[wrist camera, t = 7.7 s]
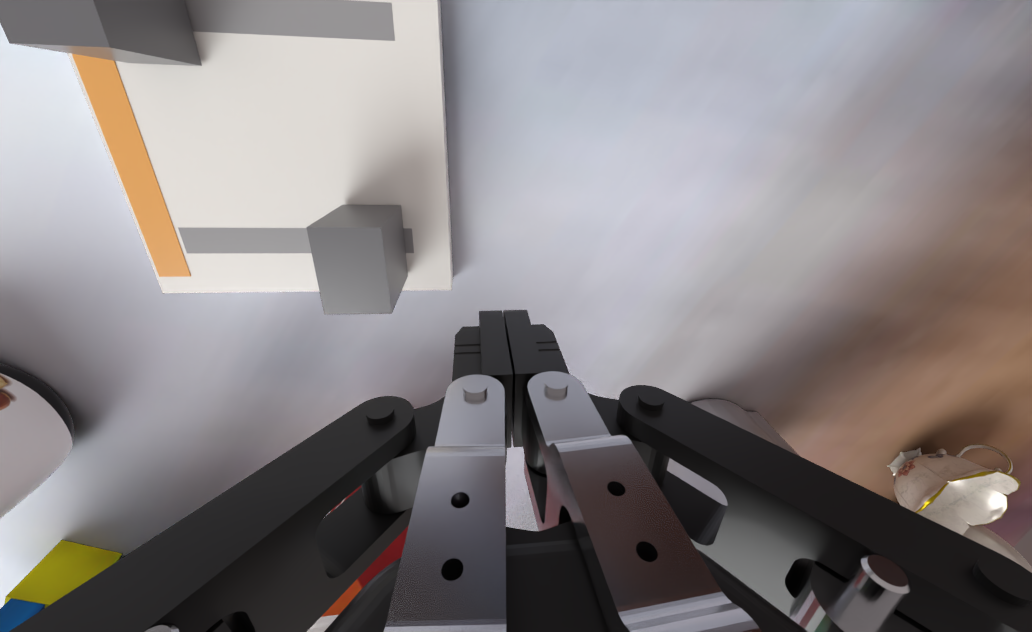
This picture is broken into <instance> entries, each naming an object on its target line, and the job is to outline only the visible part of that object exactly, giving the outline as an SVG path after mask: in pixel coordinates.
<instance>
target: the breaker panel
mask: <svg viewBox="0 0 1032 632" xmlns="http://www.w3.org/2000/svg"><path fill="white" fill-rule="evenodd" d="M184 1H185V5H186V9H187V12H188V16H189V19H190V23H191V27H192V30H193V34H194V38H195V41H196V45H197V49H198V52H199V56H200V60H201V63H202V66H188V65H163V64H138V63H125V62H119V61H113V60H107V59H101V58H95V57H89V56H83V55H77V54H71V53H68V56H69V58H70V61H71V64H72V66H73V69H74V71H75V74H76V76H77V79H78V81H79V84H80V86H81V89H82V91H83V94H84V96H85V99H86V101H87V104H88V106H89V109H90V111H91V114H92V116H93V119H94V121H95V124H96V126H97V129H98V132H99V134H100V137H101V139H102V142H103V144H104V147H105V149H106V152H107V154H108V157H109V159H110V162H111V164H112V167H113V169H114V172H115V174H116V177H117V179H118V182H119V184H120V187H121V189H122V192H123V194H124V197H125V199H126V202H127V205H128V207H129V210H130V212H131V215H132V217H133V220H134V222H135V225H136V227H137V230H138V232H139V235H140V237H141V240H142V242H143V245H144V247H145V250H146V252H147V255H148V257H149V260H150V262H151V265H152V267H153V270H154V273H155V275H156V278H157V280H158V283H159V285H160V288H161V290H162V293H231V292H320V291H319V286H318V281H317V277H316V272H315V267H314V262H313V257H312V253H311V248H310V243H309V238H308V233H307V228H306V227H308V226H309V225H311V224H312V223H314V222H316V221H317V220H319V219H320V218H322V217H324V216H325V215H327V214H328V213H330V212H331V211H333V210H335V209H336V208H338V207H339V206H341V205H343V204H345V205H401V210H402V220H403V230H404V240H405V250H406V260H407V270H408V277H407V279H406V282H405V284H404V286H403V289H402V291H416V290H452V283H453V263H452V242H451V220H450V198H449V177H448V155H447V134H446V112H445V91H444V69H443V47H442V26H441V4H440V0H184Z"/></svg>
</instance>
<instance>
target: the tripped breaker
mask: <svg viewBox="0 0 1032 632" xmlns="http://www.w3.org/2000/svg"><path fill="white" fill-rule="evenodd" d="M306 228H307V233H308V238H309V243H310V248H311V253H312V257H313V262H314V267H315V272H316V277H317V281H318V286H319V291H320V296H321V301H322V306H323V310H324V315H333V314H392V312H393V309H394V307H395V305H396V303H397V300H398V298H399V296H400V293H401V291H402V289H403V286H404V284H405V282H406V279H407V277H408V270H407V260H406V250H405V240H404V230H403V220H402V210H401V205H345V204H343V205H341V206H339V207H338V208H336V209H335V210H333V211H331V212H330V213H328V214H327V215H325V216H324V217H322V218H320V219H319V220H317V221H316V222H314V223H312V224H311V225H309V226H308V227H306Z"/></svg>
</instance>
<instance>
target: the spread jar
mask: <svg viewBox="0 0 1032 632" xmlns="http://www.w3.org/2000/svg"><path fill="white" fill-rule="evenodd" d="M74 437H75V434H74V424H73V421H72V418H71V415H70V413H69V411H68V409H67V407H66V406H65V404H64V403H63V401H62V400H61V399H60V397H59V396H58V395H57V394H56V393H55V392H54V391H53V390H52V389H51V388H50V387H48V386H47V385H46V384H44V383H43V382H42V381H40V380H38V379H37V378H35V377H33V376H31V375H29V374H27V373H25V372H23V371H20V370H18V369H15V368H13V367H10V366H7V365H3V364H0V519H1V518H2V517H3V516H4V515H5V514H7V513H8V512H9V511H10V510H11V509H13V508H14V507H15V506H16V505H17V504H19V503H20V502H21V501H22V500H23V499H25V498H26V497H27V496H28V495H29V494H31V493H32V492H33V491H34V490H35V489H36V488H38V487H39V486H40V485H41V484H42V483H43V482H44V481H45V480H46V479H47V478H49V477H50V476H51V474H52V473H53V472H54V471H55V470H56V469H57V468H58V467H59V466H60V465H61V464H62V462H63V461H64V460H65V458H66V457H67V456H68V454H69V453H70V451H71V448H72V445H73V442H74Z"/></svg>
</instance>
